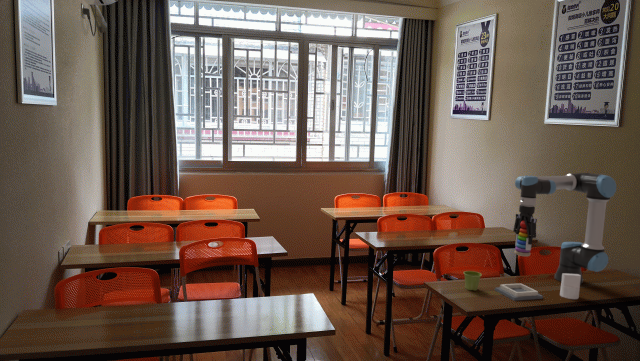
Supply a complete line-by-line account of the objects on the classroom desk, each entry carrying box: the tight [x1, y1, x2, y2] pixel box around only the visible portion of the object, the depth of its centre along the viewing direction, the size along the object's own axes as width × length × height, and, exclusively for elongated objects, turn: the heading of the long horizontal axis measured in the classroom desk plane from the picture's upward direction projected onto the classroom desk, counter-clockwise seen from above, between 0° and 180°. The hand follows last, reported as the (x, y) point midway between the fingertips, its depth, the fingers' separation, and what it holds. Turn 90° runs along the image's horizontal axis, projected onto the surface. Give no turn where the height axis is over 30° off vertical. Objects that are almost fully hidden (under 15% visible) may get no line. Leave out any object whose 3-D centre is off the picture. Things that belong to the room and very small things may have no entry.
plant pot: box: [463, 270, 483, 292], centre depth 277 cm, size 9×9×9 cm
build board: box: [494, 282, 544, 302], centre depth 273 cm, size 18×16×4 cm
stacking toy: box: [514, 221, 531, 257], centre depth 269 cm, size 8×8×19 cm
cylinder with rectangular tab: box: [559, 273, 581, 300], centre depth 274 cm, size 9×9×12 cm
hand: (522, 248), depth 270 cm, fingers closed on stacking toy, 7 cm apart
